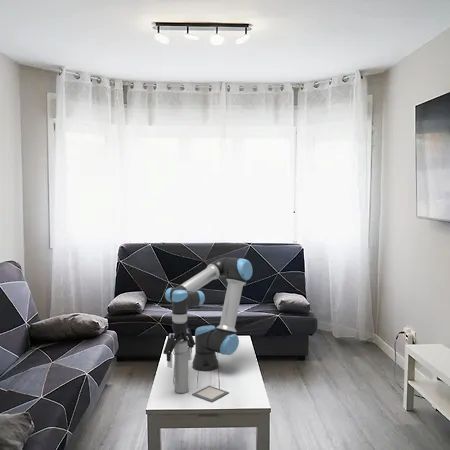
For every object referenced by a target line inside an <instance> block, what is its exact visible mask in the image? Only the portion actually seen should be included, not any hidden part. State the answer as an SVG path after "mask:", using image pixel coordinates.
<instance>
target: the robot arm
mask: <svg viewBox="0 0 450 450" xmlns="http://www.w3.org/2000/svg"><path fill="white" fill-rule="evenodd" d="M252 276H253V266H252V263H251V262H250V261H249V260H248V259H245V258H241V257H240V258H239V257H229V256H228V257H222V258H219V259H217V260H215V261H212V262H211V263H210V264H208V265H207V266H206V268H205V269H203V270H202V271H200V272H198V273H197V274H195V275H194V276H192V277H191V278H189V279H188V280H186V281H184V282H183V283H182V284H179V285H178V286H177V287H169V288H166V291H165V293H164V298H165V300H166V301H167V302H170V303H171V311H172V313H171V319H172V320H171V321H172V322H171V330H172V331H173V332H172V333H170V332H169V333H168V334H167V340H166V343H165V346H164V349H163V351H162V352H163V353H162V354H164V355H166V362H167V368H169V369H173V354H172V353H173V352H174V347H175V345H176V343H178V341H180V340H185V341H187V344H188V350H189V352H188V361H190V362H191V361H192V353H193V348H195V349H194V350H195V352H194V353H195V354H194V356H193V361H192V362H191V363H192V365H191V366H192V368H193V369H195V370H197V371H204V372H207V371H209V372H210V371H213V370H216V369H218V368H219V360H218V358H217V357H218V356H217V354H216V353H218V354H221V355H226V356H231V355H233V354H234V353H235V352H236V351H237V349H238V347H239V344H240V340H239V336H238V335H237V330H236V328H235V327H236V322H237V318H238V312H239V307H240V302H241V297H242V292H243V287H244V286H245V285H246V284H247V281H248V280H250V279H251V278H252ZM220 278H226V279H225V280H226V282H227V286H226V287H227V288H226V291H225V297H224V303H223V305H222V311H221V317H220V322H219V325H217V326H215V325H202V326H199V327H197V328H196V329H195V334H194V337H193V334H192V330H191V328H188V322H187V321H188V309H190V308H194V307H199V306H201V305H203V304H204V302H205V301H206V298H205V297H206V296H205V294H204V292H203V291H201V290H200V289H201V288H203V287H204V286H206V285H208V284H209V283H210V282H211V281H213V280H218V279H220Z"/></svg>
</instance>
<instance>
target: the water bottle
mask: <svg viewBox="0 0 450 450" xmlns="http://www.w3.org/2000/svg"><path fill="white" fill-rule="evenodd" d="M188 347H189V346H188V344H187V341H185V340H180V341H178V343H176V345H175V347H174V349H173V351H172V353H173V354H172V355H174V361H173V362H174V363H173V378H172V379H173V380H172V382H173V383H172V384H173V385H174V392H175V393H178V394H185V393H187V392H189V360H188V352H189V350H188Z"/></svg>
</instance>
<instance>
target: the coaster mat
mask: <svg viewBox="0 0 450 450" xmlns="http://www.w3.org/2000/svg"><path fill="white" fill-rule="evenodd" d="M228 394H230V392H229V391H226V390H223V389H221V388H218V387H214V386H211V385H207V386H205V387H203V388H201V389H199V390H197V391H196V392H193V393H191V395H192V396H193V397H195V398H199V399H202V400H204V401H206V402H210V403H214V402H216V401H218V400H220V399H221V398H223V397H225V396H227V395H228Z"/></svg>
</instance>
